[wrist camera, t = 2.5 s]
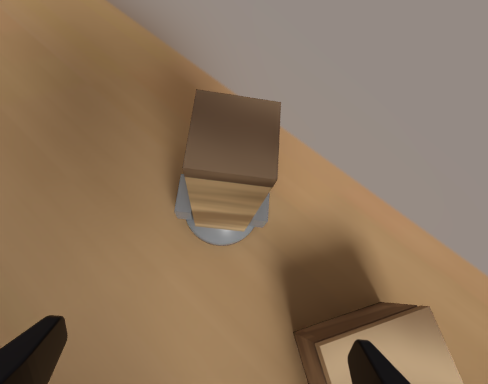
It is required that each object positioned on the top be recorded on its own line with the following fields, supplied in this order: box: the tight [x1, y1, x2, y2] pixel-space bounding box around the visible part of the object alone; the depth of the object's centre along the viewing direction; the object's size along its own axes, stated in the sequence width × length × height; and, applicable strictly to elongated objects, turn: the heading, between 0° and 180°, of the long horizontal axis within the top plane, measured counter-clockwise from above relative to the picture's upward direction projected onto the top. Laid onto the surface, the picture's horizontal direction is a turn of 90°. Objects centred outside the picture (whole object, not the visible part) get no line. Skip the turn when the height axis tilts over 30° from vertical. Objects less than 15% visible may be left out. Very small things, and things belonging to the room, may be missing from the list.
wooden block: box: [183, 89, 281, 232], centre depth 17 cm, size 4×4×12 cm
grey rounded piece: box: [175, 174, 269, 246], centre depth 22 cm, size 6×7×3 cm
